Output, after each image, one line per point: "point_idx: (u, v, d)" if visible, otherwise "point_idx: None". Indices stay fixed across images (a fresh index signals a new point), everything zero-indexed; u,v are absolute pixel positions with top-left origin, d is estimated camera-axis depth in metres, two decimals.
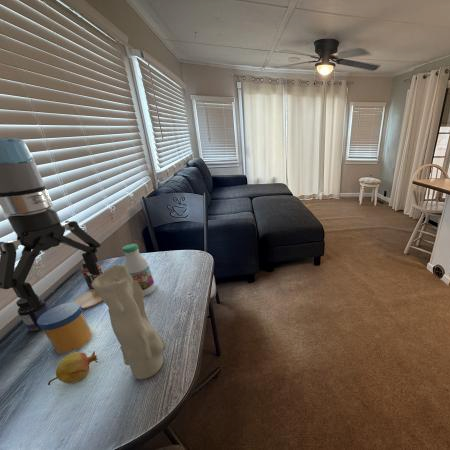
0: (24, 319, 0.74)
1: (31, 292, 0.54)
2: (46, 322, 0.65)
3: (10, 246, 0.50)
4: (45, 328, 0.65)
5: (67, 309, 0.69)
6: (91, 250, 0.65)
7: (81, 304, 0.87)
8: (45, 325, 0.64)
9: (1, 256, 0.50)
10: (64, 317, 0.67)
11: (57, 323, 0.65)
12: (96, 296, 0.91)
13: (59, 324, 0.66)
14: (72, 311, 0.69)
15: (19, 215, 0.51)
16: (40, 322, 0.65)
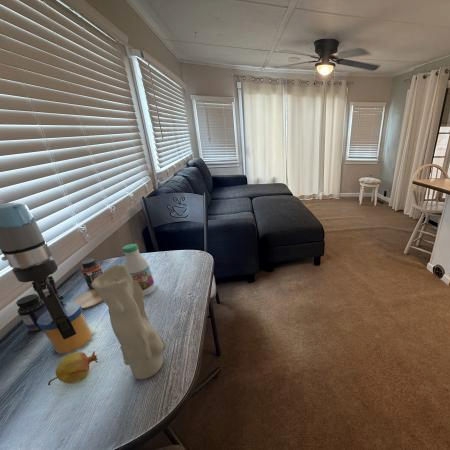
0: (24, 319, 0.74)
1: None
2: (46, 322, 0.65)
3: None
4: (45, 328, 0.65)
5: (67, 309, 0.69)
6: None
7: (81, 304, 0.87)
8: (45, 325, 0.64)
9: None
10: None
11: None
12: (96, 296, 0.91)
13: None
14: (72, 311, 0.69)
15: None
16: (40, 322, 0.65)
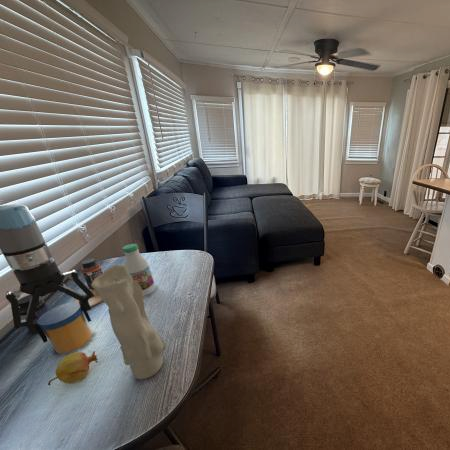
0: (24, 319, 0.74)
1: (38, 330, 0.65)
2: (71, 313, 0.68)
3: (10, 297, 0.59)
4: (76, 316, 0.69)
5: (60, 309, 0.70)
6: (83, 300, 0.71)
7: None
8: (77, 312, 0.69)
9: None
10: (76, 305, 0.71)
11: (80, 307, 0.71)
12: (96, 296, 0.91)
13: (81, 308, 0.71)
14: (68, 305, 0.72)
15: (17, 269, 0.59)
16: (66, 317, 0.67)
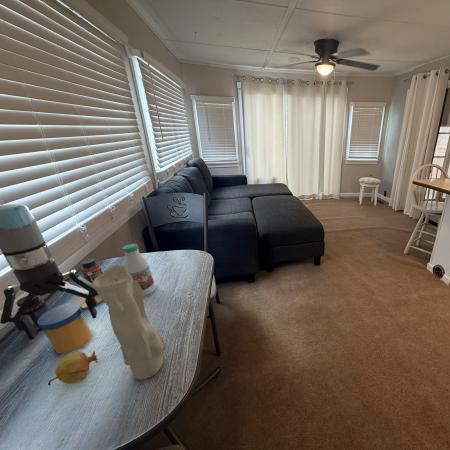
0: None
1: (24, 327, 0.64)
2: (71, 313, 0.68)
3: (7, 292, 0.60)
4: (76, 316, 0.69)
5: (60, 309, 0.70)
6: (88, 297, 0.70)
7: (81, 304, 0.87)
8: (77, 312, 0.69)
9: None
10: (76, 305, 0.71)
11: (80, 307, 0.71)
12: (96, 296, 0.91)
13: (81, 308, 0.71)
14: (68, 305, 0.72)
15: (16, 269, 0.60)
16: (66, 317, 0.67)
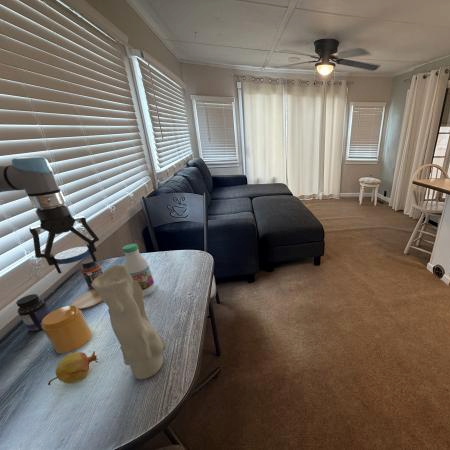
0: (24, 319, 0.74)
1: (54, 262, 0.80)
2: (61, 257, 0.80)
3: (32, 231, 0.75)
4: (61, 262, 0.80)
5: (78, 250, 0.85)
6: (90, 242, 0.86)
7: (81, 304, 0.87)
8: (61, 259, 0.80)
9: (33, 236, 0.76)
10: (76, 255, 0.82)
11: (70, 258, 0.81)
12: (96, 296, 0.91)
13: (72, 259, 0.81)
14: (82, 251, 0.84)
15: (39, 209, 0.74)
16: (57, 257, 0.80)
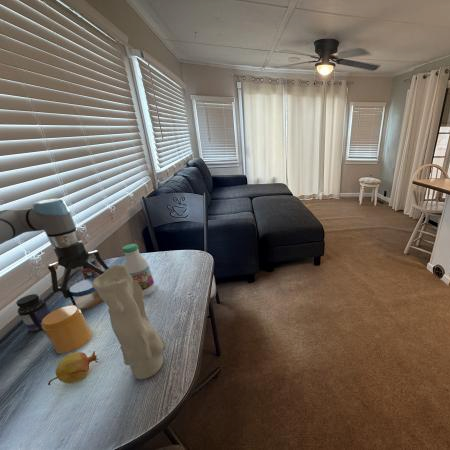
0: (24, 319, 0.74)
1: (70, 295, 0.85)
2: (76, 290, 0.85)
3: (51, 268, 0.80)
4: (76, 295, 0.85)
5: (91, 282, 0.90)
6: None
7: (81, 304, 0.87)
8: (76, 293, 0.85)
9: None
10: (90, 287, 0.87)
11: (85, 291, 0.86)
12: (96, 296, 0.91)
13: (86, 292, 0.86)
14: None
15: (57, 247, 0.80)
16: (72, 290, 0.86)
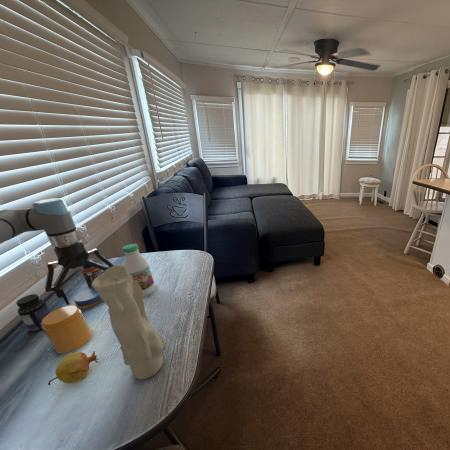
0: (24, 319, 0.74)
1: (63, 295, 0.83)
2: (81, 299, 0.87)
3: (50, 266, 0.79)
4: (80, 304, 0.87)
5: (95, 291, 0.91)
6: None
7: None
8: (81, 301, 0.86)
9: None
10: (94, 296, 0.89)
11: (89, 300, 0.87)
12: None
13: (90, 301, 0.87)
14: None
15: (57, 247, 0.80)
16: (76, 299, 0.87)
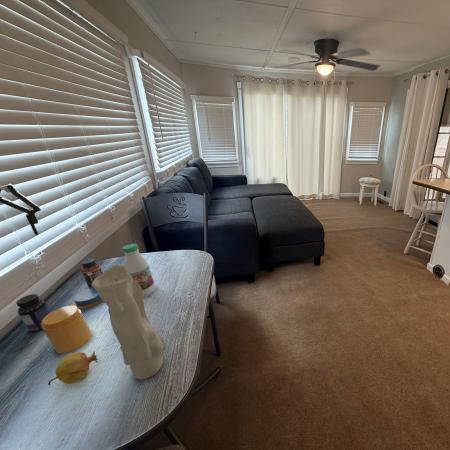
0: (24, 319, 0.74)
1: None
2: (81, 299, 0.87)
3: None
4: (80, 304, 0.87)
5: (95, 291, 0.91)
6: (29, 212, 0.75)
7: None
8: (81, 301, 0.86)
9: None
10: (94, 296, 0.89)
11: (89, 300, 0.87)
12: None
13: (90, 301, 0.87)
14: None
15: None
16: (76, 299, 0.87)
